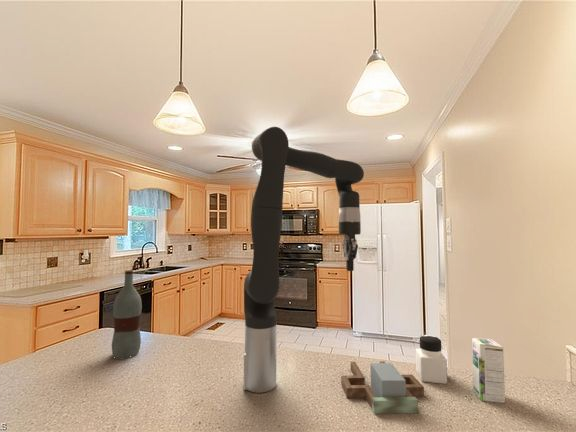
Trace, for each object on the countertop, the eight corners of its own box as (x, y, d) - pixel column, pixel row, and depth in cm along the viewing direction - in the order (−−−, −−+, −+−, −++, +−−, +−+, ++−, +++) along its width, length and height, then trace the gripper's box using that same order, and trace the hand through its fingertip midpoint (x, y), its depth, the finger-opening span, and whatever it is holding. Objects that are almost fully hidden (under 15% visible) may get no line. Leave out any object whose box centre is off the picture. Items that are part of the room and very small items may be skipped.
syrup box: (472, 389, 82) (470, 337, 83) (495, 392, 81) (493, 338, 82) (481, 401, 77) (479, 344, 78) (506, 403, 76) (504, 346, 76)
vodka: (136, 347, 113) (139, 268, 114) (143, 354, 106) (146, 270, 108) (108, 353, 106) (111, 270, 108) (114, 362, 99) (117, 273, 101)
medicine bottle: (447, 384, 85) (446, 342, 86) (421, 381, 87) (420, 340, 87) (440, 373, 92) (439, 334, 93) (416, 370, 94) (415, 332, 94)
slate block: (382, 409, 73) (381, 380, 74) (370, 388, 83) (370, 363, 84) (406, 409, 73) (405, 380, 74) (391, 388, 83) (391, 363, 84)
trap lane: (353, 414, 71) (353, 401, 71) (335, 370, 94) (335, 360, 94) (438, 412, 72) (438, 399, 72) (399, 369, 95) (399, 359, 95)
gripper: (335, 221, 109) (335, 268, 108) (343, 220, 96) (343, 273, 95) (355, 221, 109) (355, 268, 108) (365, 220, 96) (366, 273, 95)
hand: (350, 270), depth 102 cm, fingers closed
